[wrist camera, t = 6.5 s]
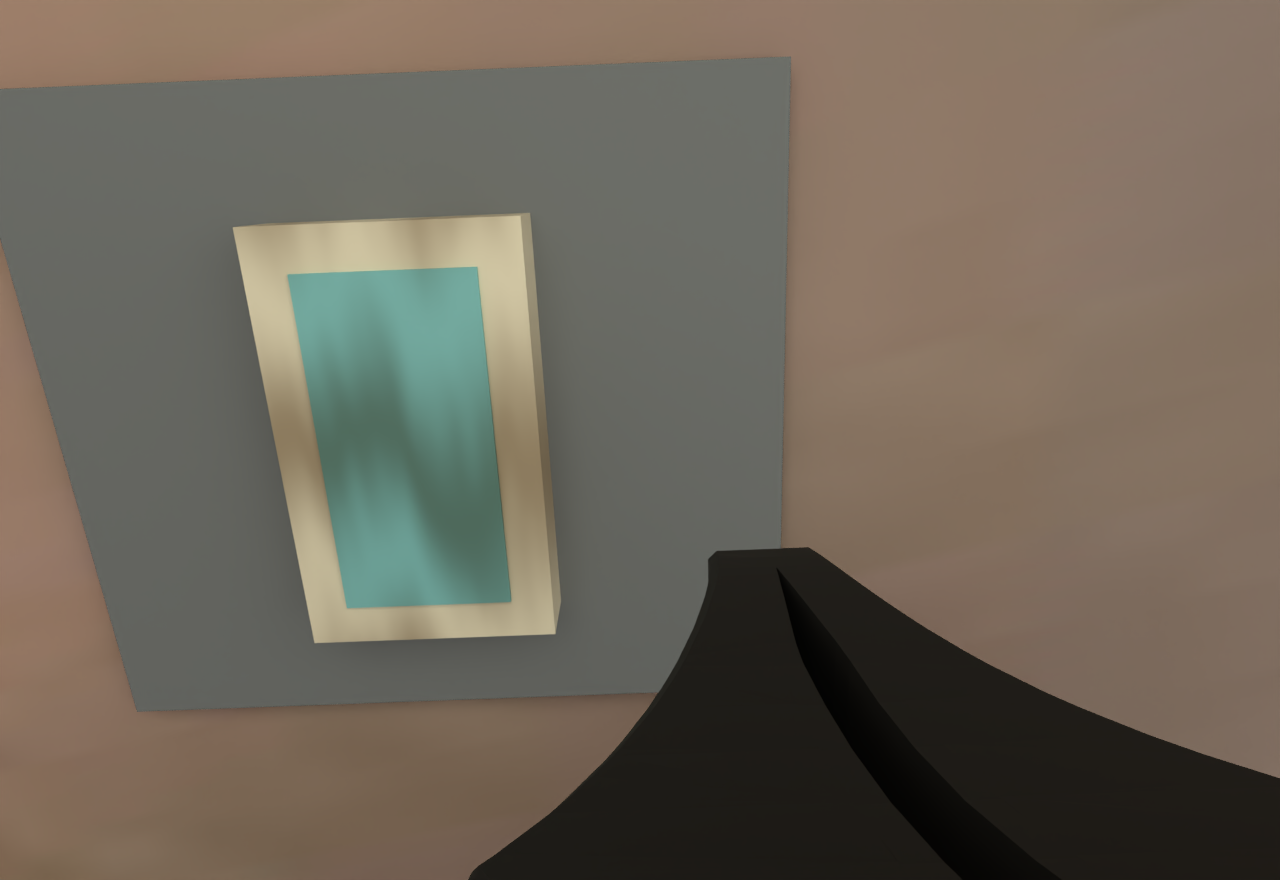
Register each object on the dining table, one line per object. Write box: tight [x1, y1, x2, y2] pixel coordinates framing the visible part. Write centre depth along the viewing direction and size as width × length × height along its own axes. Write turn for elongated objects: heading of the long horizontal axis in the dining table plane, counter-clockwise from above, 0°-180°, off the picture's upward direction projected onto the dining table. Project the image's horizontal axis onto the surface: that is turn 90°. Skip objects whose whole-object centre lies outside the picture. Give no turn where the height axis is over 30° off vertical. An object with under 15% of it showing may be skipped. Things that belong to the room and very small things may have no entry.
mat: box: [0, 57, 791, 712], centre depth 19 cm, size 16×18×1 cm
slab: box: [233, 213, 561, 643], centre depth 18 cm, size 10×2×6 cm
